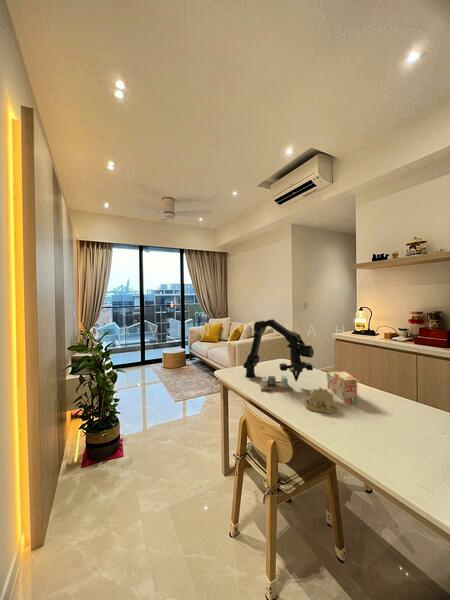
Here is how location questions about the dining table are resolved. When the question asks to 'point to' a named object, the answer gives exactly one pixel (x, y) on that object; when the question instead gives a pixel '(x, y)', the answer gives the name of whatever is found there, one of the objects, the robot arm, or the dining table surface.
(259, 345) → the robot arm
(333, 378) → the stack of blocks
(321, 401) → the ceramic model
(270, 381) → the block
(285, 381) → the sliding jaw
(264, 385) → the vise base
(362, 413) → the dining table surface
